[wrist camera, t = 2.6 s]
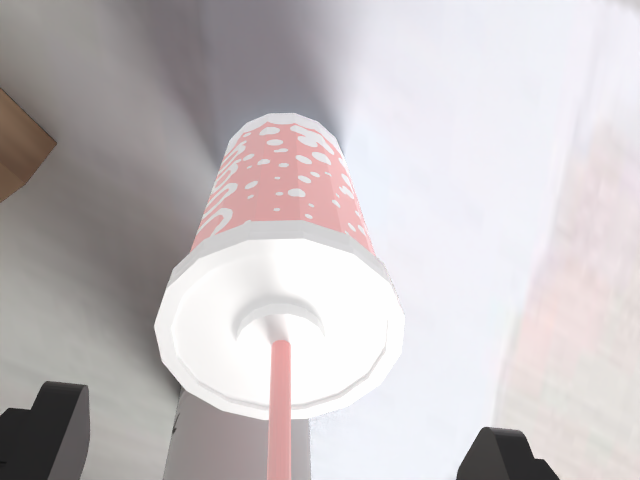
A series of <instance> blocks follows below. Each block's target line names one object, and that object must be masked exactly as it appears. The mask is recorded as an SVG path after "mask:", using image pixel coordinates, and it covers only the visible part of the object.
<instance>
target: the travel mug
mask: <svg viewBox="0 0 640 480" xmlns="http://www.w3.org/2000/svg"><path fill="white" fill-rule="evenodd" d="M308 419H309V418H308ZM308 419H291V480H311V462H310V432H309V420H308ZM268 430H269V420H261V419H257V418H252V417H248V416H243V415H239V414H234V413H230V412H225V411H222V410H220V409H218V408H216V407H214V406H213V405H211V404H209V403H207V402H206V401H204V400H202V399H200V398H198V397H197V396H195V395H193V394H191V393H189V392H188V391H186V390H185V389H184V387H183V386H181V391H180V396H179V401H178V406H177V411H176V416H175V421H174V426H173V431H172V436H171V441H170V446H169V451H168V456H167V461H166V466H165V471H164V476H163V480H267V457H268Z"/></svg>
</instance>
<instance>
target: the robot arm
mask: <svg viewBox="0 0 640 480" xmlns="http://www.w3.org/2000/svg"><path fill="white" fill-rule="evenodd" d="M89 440H90V416H89V390H88V386H87V385H81V384H71V383H61V382H51V381H46V382H45V383H44V384H43V385H42V387H41V389H40V391H39V393H38V395H37V397H36V399H35V402H34V404H33V406H32V408H31V410H27V409H16V408H8V409H7V410H6V411H5V412H4V413H3V414H2V415H1V416H0V480H80V477H81V474H82V471H83V467H84V464H85V461H86V457H87V452H88V447H89ZM456 480H560V479H559V478H558V476H557V475H556V474H555V473H554V471H553V470H552V469H551V468H550V466H549V465H548V464H547V463H546V461H545V460H544V459H534V456H533V454H532V451H531V449H530V446H529V443H528V441H527V439H526V437H525V435H524V434H523V433H522V432H521V431H519V430H512V429H502V428H492V427H484V428H482V429H481V431H480V432H479V434H478V435H477V437H476V439H475V441H474V442H473V444H472V446H471V448H470V449H469V451H468V453H467V455H466V456H465V458H464V460H463V461H462V463H461V465H460V467H459V469H458V473H457V479H456Z"/></svg>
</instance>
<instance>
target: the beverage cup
mask: <svg viewBox="0 0 640 480" xmlns="http://www.w3.org/2000/svg"><path fill="white" fill-rule="evenodd" d="M398 298H399V297H398V295H397V293H396V290H395V288H394V286H393V284H392V281H391V279H390V277H389V275H388V272H387V270H386V268H385V266H384V263H383V262H382V261H380V260H379V259H378V258H377V257H376V256H375V253H374V250H373V246H372V243H371V240H370V237H369V234H368V231H367V227H366V224H365V221H364V218H363V215H362V212H361V208H360V205H359V202H358V199H357V196H356V193H355V189H354V186H353V183H352V180H351V177H350V174H349V171H348V167H347V164H346V161H345V158H344V156H343V153H342V151H341V149H340V147H339V144H338V142H337V140H336V138H335V137H334V136H333V135H332V134H331V133H330V132H329V131H328V130H327V129H326V128H325V127H323V126H322V125H321V124H320V123H319V122H318V121H315V120H312V119H310V118H307V117H304V116H302V115H299V114H296V113H269V114H267V115H264V116H262V117H259V118H257V119H255V120H252V121H250V122H247V123H246V124H245V125H244V126H243V127H242V128H241V129H240V130H239V131H238V132H237V133H236V134H235V135H234V136H233V137H232V138H231V139H230V141H229V144H228V147H227V149H226V152H225V155H224V158H223V161H222V163H221V166H220V169H219V172H218V175H217V177H216V180H215V183H214V186H213V189H212V191H211V194H210V197H209V200H208V203H207V206H206V208H205V211H204V214H203V217H202V220H201V222H200V225H199V228H198V231H197V234H196V236H195V239H194V242H193V245H192V248H191V250H190V253H189V254H188V255H187V256H186V257H185V258H184V259H183V260H182V261H181V262H180V263H179V264H178V265H177V266H176V267H175V268H174V269H173V271H172V274H171V277H170V280H169V282H168V284H167V287H166V290H165V293H164V296H163V299H162V302H161V305H160V308H159V311H158V314H157V317H156V320H155V324H154V329H155V333H156V338H157V342H158V347H159V351H160V355H161V360H162V362H163V363H164V365H165V366H166V367H167V368H168V369H169V371H170V372H171V373H172V374H173V375H174V377H175V378H176V379H177V380H178V381H179V383H180V384H181V385H182V386H183V387H184V389H185V390H186V391H188V392H189V393H191V394H193V395H195V396H197V397H198V398H200V399H202V400H204V401H206V402H207V403H209V404H211V405H213V406H214V407H216V408H218V409H220V410H222V411H225V412H230V413H234V414H239V415H243V416H248V417H252V418H257V419H261V420H269V430H268V457H267V480H291V419H308V418H311V417H314V416H317V415H321V414H324V413H327V412H330V411H334V410H337V409H340V408H343V407H347V406H349V405H350V404H352V403H353V402H355V401H356V400H358V399H359V398H361V397H362V396H363V395H365V394H366V393H368V392H369V391H371V390H372V389H374V388H375V387H377V386H378V385H380V384H381V382H382V381H383V380H384V378H385V377H386V375H387V374H388V372H389V371H390V369H391V368H392V366H393V365H394V363H395V362H396V360H397V359H398V357H399V356H400V354H401V349H402V340H403V331H404V322H405V317H404V312H403V309H402V307H401V305H400V303H399V300H398Z"/></svg>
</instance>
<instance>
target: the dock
mask: <svg viewBox="0 0 640 480" xmlns="http://www.w3.org/2000/svg"><path fill="white" fill-rule="evenodd" d="M56 145H57V143H56V142H55V141H54V140H53V139H52V138H51V137H50V136H49V135H48V134H47V133H46V132H45V131H44V130H43V129H42V128H41V127H40V126H39V125H38V124H37V123H36V122H35V121H33V120H32V119H31V118H30V117H29V116H28V115H27V114H26V113H25V112H24V111H23V110H22V109H21V108H20V107H19V106H18V105H17V104H16V103H15V102H14V101H13V100H12V99H11V98H10V97H9V96H8V95H7V94H6V93H5V92H4V91H3V90H2V89H1V88H0V203H1V202H2V201H3V200H5V199H6V198H7V197H9V196H10V195H12V194H13V193H14V192H16V191H17V190H18V189H20V188H21V187H22V186H24V185H25V184H26V183H27V182H28V180H29V179H30V178H31V176H32V175H33V174H34V173H35V171H36V170H37V169H38V168H39V166H40V165H41V164H42V162H43V161H44V160H45V159H46V157H47V156H48V155H49V153H50V152H51V151H52V150H53V148H54V147H55V146H56Z"/></svg>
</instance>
